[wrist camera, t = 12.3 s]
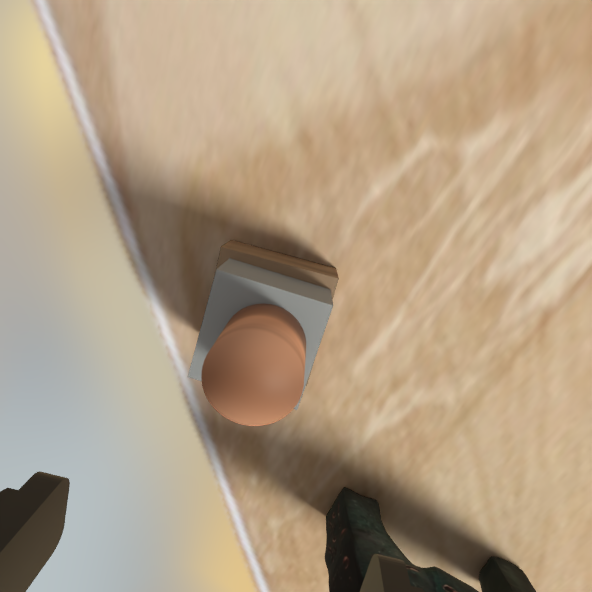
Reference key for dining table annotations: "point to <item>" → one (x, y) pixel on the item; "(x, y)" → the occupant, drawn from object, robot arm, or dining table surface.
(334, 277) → the tower base
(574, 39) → the dining table surface
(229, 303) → the tower top
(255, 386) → the tan cylinder
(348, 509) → the ceramic cat
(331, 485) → the dining table surface
